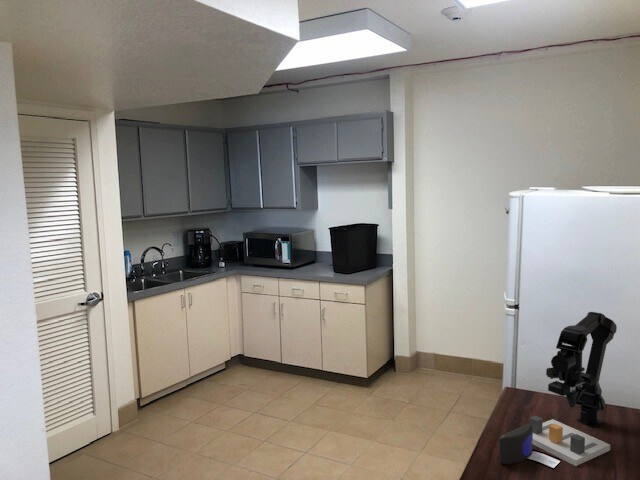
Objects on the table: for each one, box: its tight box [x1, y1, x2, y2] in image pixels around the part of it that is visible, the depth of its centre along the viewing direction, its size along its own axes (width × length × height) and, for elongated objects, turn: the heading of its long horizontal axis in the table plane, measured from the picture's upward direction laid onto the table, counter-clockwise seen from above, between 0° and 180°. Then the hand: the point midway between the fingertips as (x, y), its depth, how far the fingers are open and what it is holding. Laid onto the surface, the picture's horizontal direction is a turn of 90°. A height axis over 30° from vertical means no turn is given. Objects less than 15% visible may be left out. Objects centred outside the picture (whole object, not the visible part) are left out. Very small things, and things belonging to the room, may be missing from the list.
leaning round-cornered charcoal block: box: [498, 423, 534, 465], centre depth 171 cm, size 16×5×9 cm, turn 124°
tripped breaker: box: [549, 424, 563, 444], centre depth 177 cm, size 3×3×5 cm
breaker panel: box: [529, 415, 611, 467], centre depth 179 cm, size 18×22×7 cm
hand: (571, 406), depth 183 cm, fingers closed
